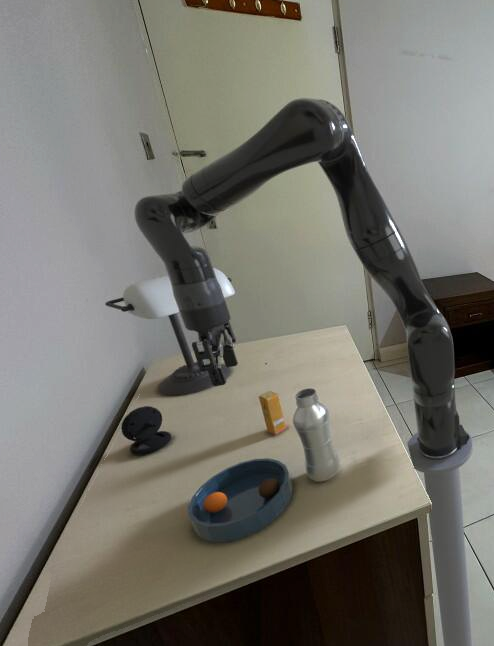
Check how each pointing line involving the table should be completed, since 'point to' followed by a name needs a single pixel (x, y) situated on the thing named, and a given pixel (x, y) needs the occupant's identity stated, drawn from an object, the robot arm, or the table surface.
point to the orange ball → (215, 502)
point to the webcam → (145, 430)
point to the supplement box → (272, 412)
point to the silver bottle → (315, 436)
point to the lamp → (160, 302)
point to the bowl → (240, 500)
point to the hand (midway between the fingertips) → (226, 374)
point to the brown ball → (269, 488)
